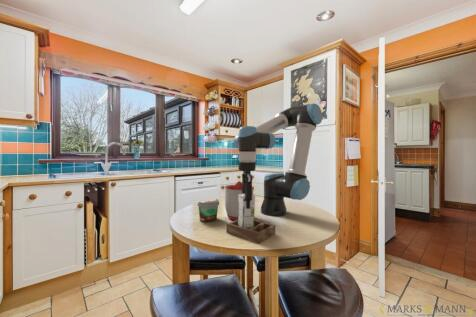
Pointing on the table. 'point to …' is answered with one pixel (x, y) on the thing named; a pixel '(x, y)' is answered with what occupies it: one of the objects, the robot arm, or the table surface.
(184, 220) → the table surface
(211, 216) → the food container
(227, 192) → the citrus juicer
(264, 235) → the socket block
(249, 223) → the syrup box
